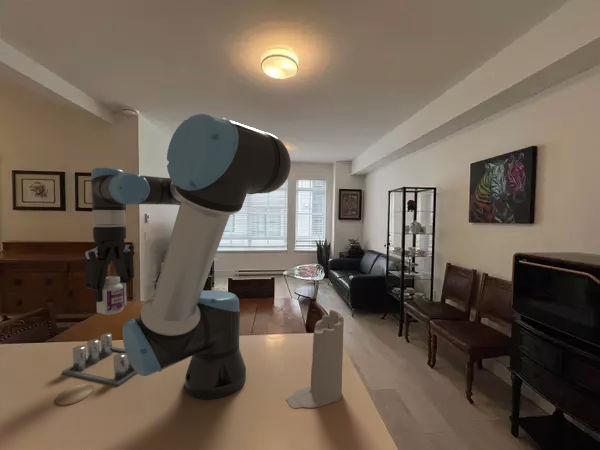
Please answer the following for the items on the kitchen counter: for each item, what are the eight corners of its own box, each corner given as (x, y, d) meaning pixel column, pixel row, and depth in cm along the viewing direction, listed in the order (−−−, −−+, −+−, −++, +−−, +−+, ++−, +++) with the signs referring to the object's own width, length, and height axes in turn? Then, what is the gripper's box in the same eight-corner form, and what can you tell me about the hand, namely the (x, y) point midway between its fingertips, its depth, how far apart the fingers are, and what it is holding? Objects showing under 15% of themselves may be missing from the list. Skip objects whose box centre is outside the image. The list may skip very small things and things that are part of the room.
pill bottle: (115, 315, 76) (114, 280, 75) (95, 315, 76) (94, 279, 75) (127, 308, 81) (126, 275, 81) (109, 308, 81) (108, 275, 81)
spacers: (152, 359, 83) (152, 340, 82) (120, 381, 72) (119, 359, 72) (107, 351, 87) (106, 332, 86) (70, 370, 76) (69, 349, 76)
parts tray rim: (160, 357, 84) (160, 355, 84) (118, 386, 70) (118, 383, 70) (109, 348, 89) (109, 346, 89) (62, 373, 75) (62, 371, 75)
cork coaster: (100, 388, 69) (100, 386, 69) (70, 407, 63) (70, 406, 63) (78, 383, 71) (78, 381, 71) (47, 401, 65) (47, 400, 64)
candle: (282, 394, 68) (283, 314, 67) (332, 381, 74) (334, 306, 72) (293, 414, 62) (294, 326, 60) (347, 398, 67) (349, 317, 66)
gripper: (127, 223, 87) (129, 297, 88) (63, 227, 69) (67, 319, 71) (147, 224, 85) (149, 299, 86) (87, 228, 67) (90, 323, 69)
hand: (112, 308), depth 79 cm, fingers closed on pill bottle, 5 cm apart
